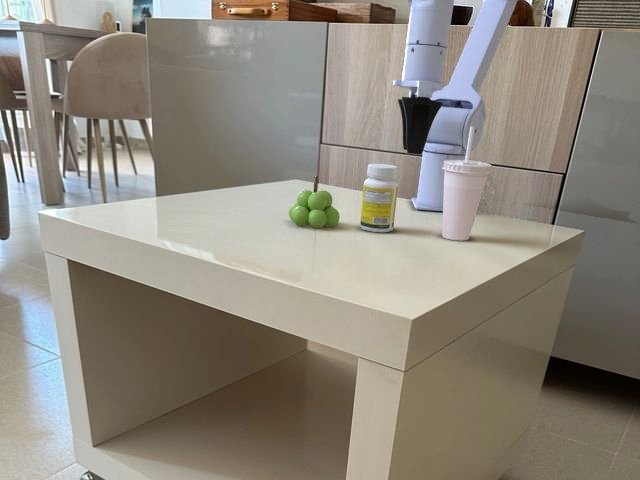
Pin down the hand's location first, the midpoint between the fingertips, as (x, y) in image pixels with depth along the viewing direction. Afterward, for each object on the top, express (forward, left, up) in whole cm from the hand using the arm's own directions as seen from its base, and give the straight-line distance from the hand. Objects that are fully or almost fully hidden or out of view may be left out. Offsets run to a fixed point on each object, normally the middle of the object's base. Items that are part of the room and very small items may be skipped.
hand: (412, 152), depth 94 cm
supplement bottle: (+11, -5, -10) cm, 16 cm away
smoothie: (+13, +6, -10) cm, 17 cm away
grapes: (+11, -14, -9) cm, 20 cm away
